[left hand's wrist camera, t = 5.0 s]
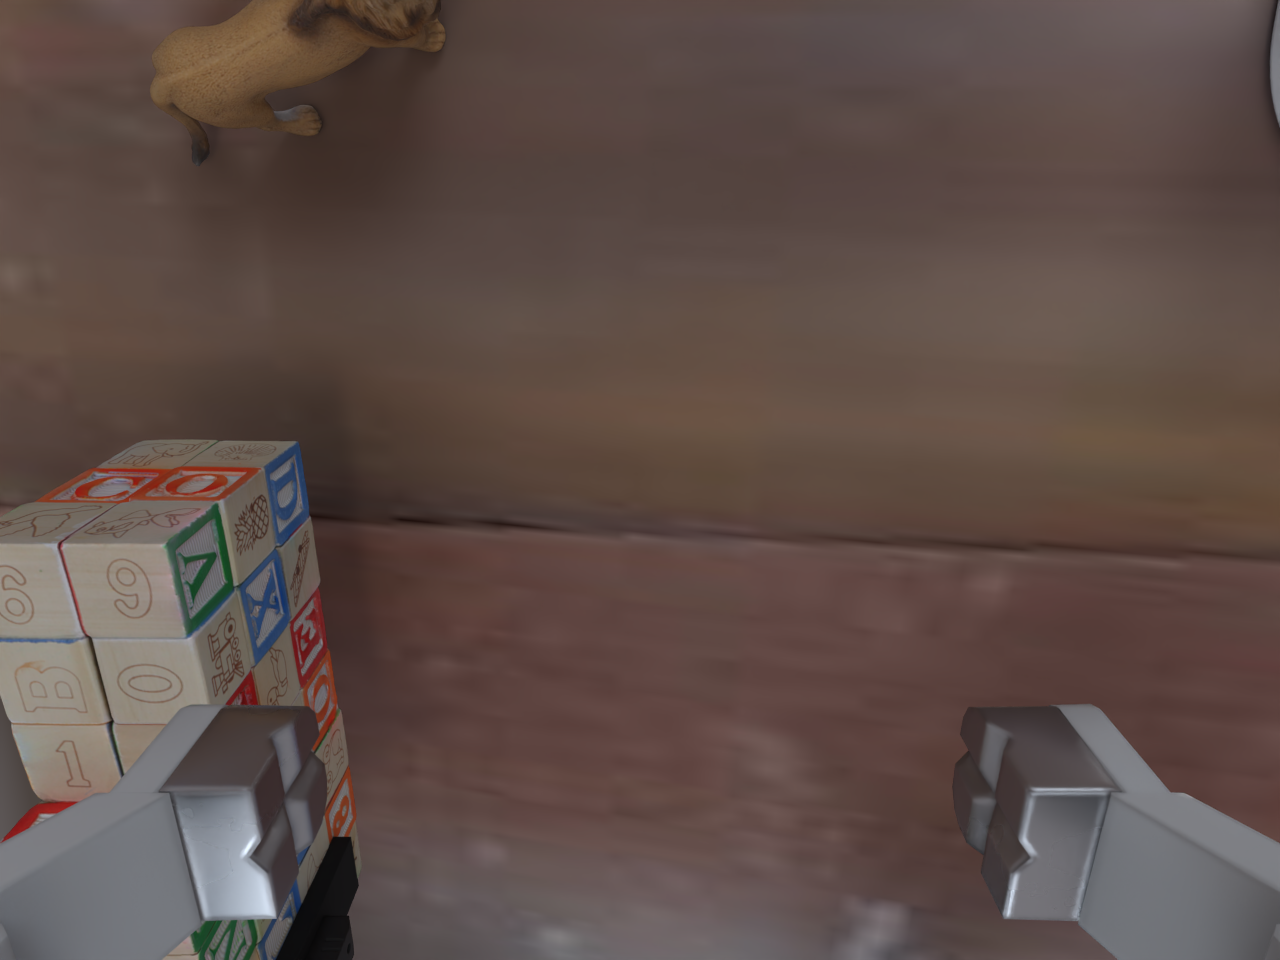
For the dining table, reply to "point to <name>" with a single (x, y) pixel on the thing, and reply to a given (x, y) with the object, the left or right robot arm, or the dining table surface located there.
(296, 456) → the stack of blocks
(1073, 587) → the dining table surface
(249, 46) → the lion figurine
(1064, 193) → the dining table surface
